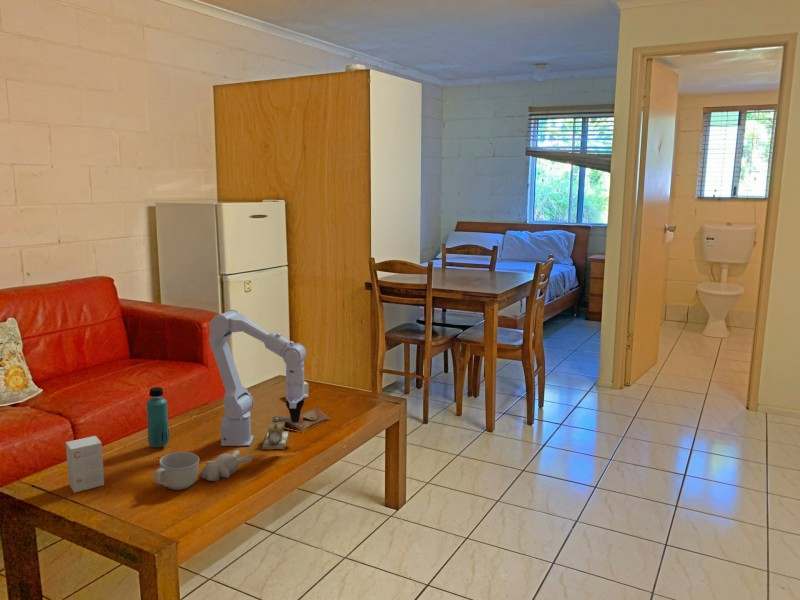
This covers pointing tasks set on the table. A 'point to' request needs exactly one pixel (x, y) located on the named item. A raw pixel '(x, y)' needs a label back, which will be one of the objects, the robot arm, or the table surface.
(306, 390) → the white cube
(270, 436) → the valve pipe
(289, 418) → the valve lever
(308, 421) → the sunglasses case
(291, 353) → the robot arm
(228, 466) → the bunny figurine
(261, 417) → the table surface
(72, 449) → the small box
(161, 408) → the beverage bottle
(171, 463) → the teacup
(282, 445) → the mounting board
